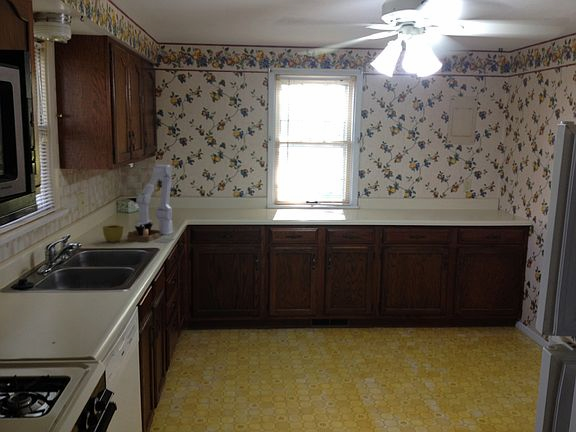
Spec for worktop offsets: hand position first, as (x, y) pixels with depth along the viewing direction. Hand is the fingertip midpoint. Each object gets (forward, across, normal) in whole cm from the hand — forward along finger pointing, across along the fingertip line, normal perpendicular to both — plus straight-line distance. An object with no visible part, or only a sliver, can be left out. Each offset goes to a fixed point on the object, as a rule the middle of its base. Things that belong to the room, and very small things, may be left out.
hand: (144, 236), depth 346 cm
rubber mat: (+2, 0, +14) cm, 14 cm away
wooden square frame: (+2, 0, 0) cm, 2 cm away
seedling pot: (+2, 0, 0) cm, 2 cm away
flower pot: (+2, +13, -13) cm, 18 cm away
